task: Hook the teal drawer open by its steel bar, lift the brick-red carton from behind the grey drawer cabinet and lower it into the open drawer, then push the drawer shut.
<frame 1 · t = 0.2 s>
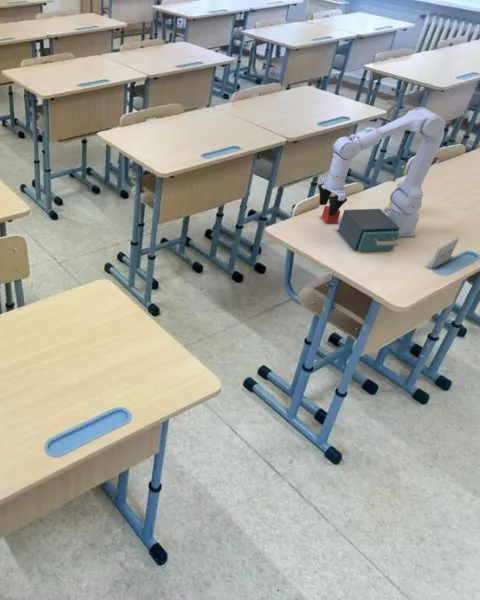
hand: (327, 209, 193), 10 cm above the table, tool pointing down, fingers open, 7 cm apart
package: (329, 220, 207), on the table
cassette: (439, 262, 184), on the table
pill bottle: (395, 212, 212), on the table
teal drawer: (373, 236, 190), point 4 cm above the table, slide at 0.5 cm
grey drawer cabinet: (363, 239, 196), on the table
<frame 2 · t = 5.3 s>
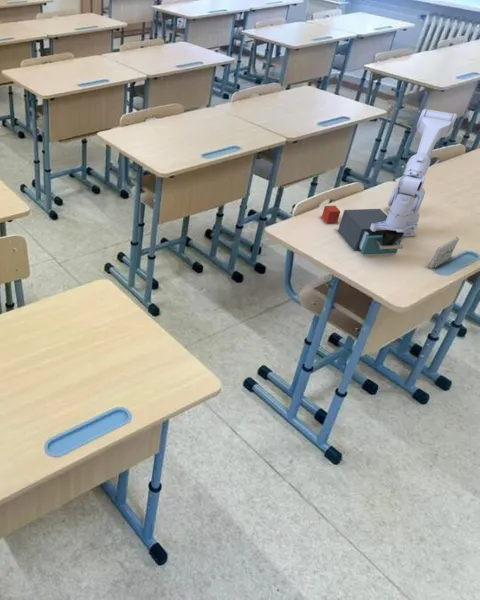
hand: (385, 248, 183), 4 cm above the table, tool pointing down, fingers closed, pressing on teal drawer
teal drawer: (377, 239, 188), point 4 cm above the table, slide at 2.9 cm, touching gripper
everything else where it was.
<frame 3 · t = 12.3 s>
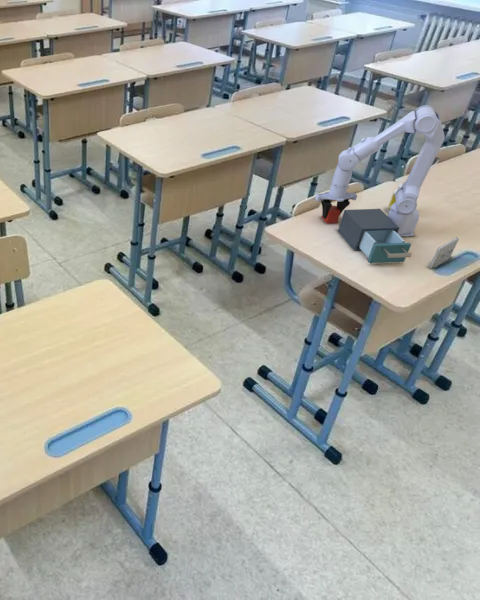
hand: (330, 217, 206), 1 cm above the table, tool pointing down, fingers closed on package, 4 cm apart
package: (329, 220, 207), on the table, touching gripper
teal drawer: (384, 247, 184), point 4 cm above the table, slide at 8.0 cm
everything else where it was.
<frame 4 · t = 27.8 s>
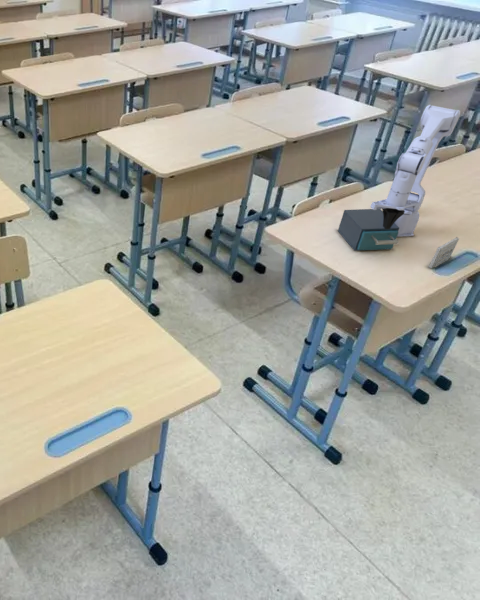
hand: (386, 227, 182), 10 cm above the table, tool pointing down, fingers closed
package: (368, 238, 193), point 2 cm above the table, touching teal drawer
teal drawer: (373, 235, 190), point 4 cm above the table, slide at 0.0 cm, touching grey drawer cabinet, package
everything else where it was.
at the end: teal drawer pulled out 8.0 cm at the most during the clip, back to where it started at the end; package inside the target area in the grey drawer cabinet (1.2 cm from its centre), point 2.0 cm above the grey drawer cabinet's base; teal drawer slide at 0.0 cm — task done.
